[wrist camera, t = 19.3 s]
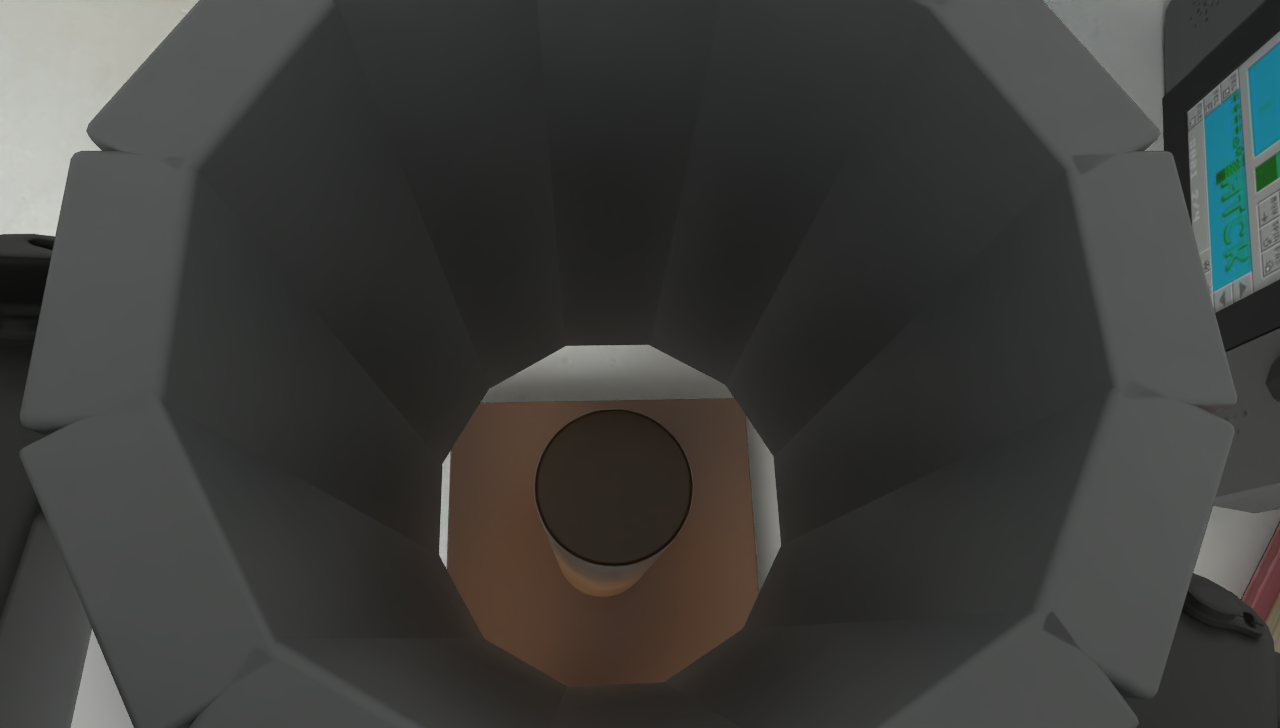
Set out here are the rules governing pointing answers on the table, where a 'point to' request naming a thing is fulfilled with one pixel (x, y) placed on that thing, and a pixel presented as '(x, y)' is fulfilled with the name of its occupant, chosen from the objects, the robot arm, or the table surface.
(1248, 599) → the book
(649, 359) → the table surface
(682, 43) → the slatted grey tube
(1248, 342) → the handheld gaming console
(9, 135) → the table surface
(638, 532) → the stand
